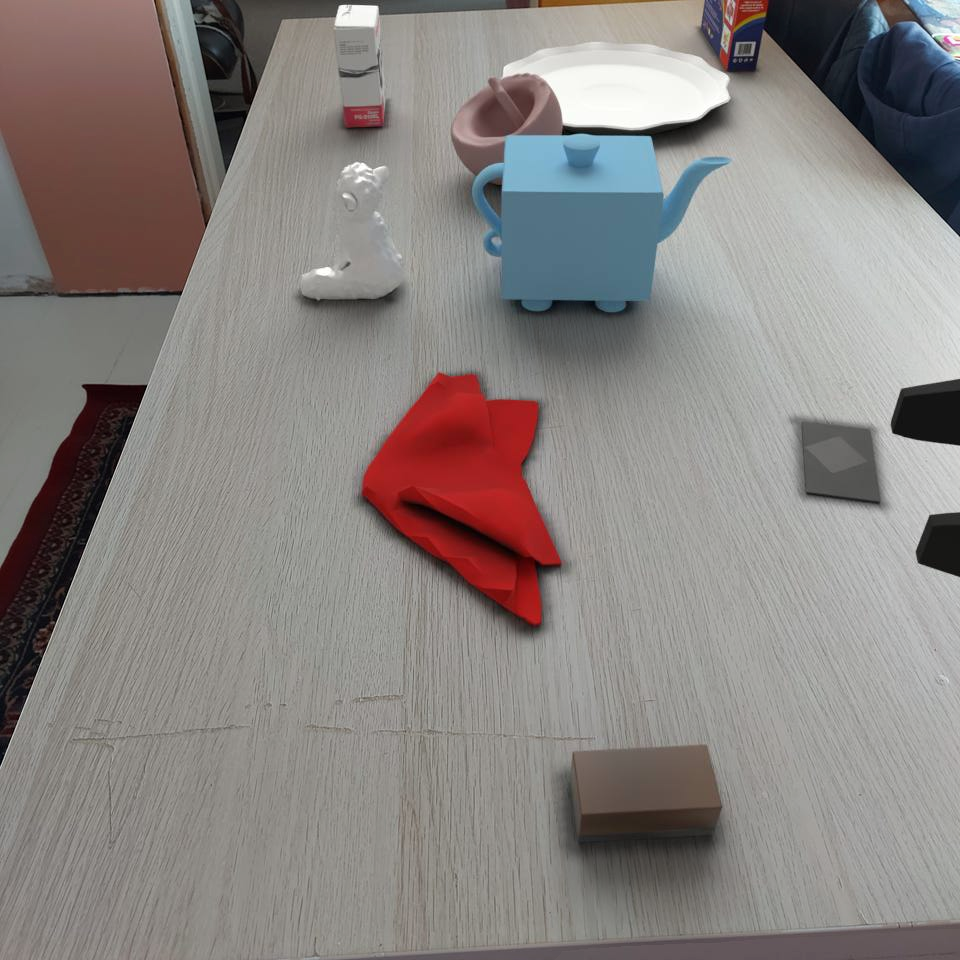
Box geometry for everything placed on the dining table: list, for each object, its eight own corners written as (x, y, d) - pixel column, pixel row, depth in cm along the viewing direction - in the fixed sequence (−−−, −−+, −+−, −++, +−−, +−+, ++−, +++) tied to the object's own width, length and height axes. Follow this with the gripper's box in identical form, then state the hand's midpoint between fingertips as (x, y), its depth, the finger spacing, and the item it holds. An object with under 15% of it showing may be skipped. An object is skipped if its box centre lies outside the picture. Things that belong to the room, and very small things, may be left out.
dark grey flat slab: (869, 430, 70) (869, 429, 69) (879, 503, 64) (880, 501, 64) (801, 422, 70) (802, 420, 70) (806, 493, 65) (806, 491, 65)
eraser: (698, 772, 49) (706, 743, 47) (713, 835, 47) (723, 807, 45) (569, 779, 49) (572, 750, 47) (577, 842, 47) (581, 815, 45)
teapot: (470, 315, 82) (466, 167, 72) (476, 252, 90) (474, 112, 80) (717, 318, 81) (746, 169, 71) (701, 254, 89) (725, 113, 80)
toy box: (755, 70, 125) (773, -24, 117) (726, 71, 125) (742, -23, 117) (726, 27, 138) (741, -60, 130) (700, 28, 138) (713, -59, 130)
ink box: (384, 127, 113) (375, 25, 104) (344, 128, 113) (332, 26, 104) (387, 100, 119) (378, 2, 111) (349, 101, 119) (337, 3, 111)
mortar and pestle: (434, 170, 104) (429, 66, 96) (526, 148, 107) (528, 46, 100) (483, 214, 96) (481, 104, 88) (580, 189, 100) (587, 81, 92)
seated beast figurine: (353, 251, 91) (339, 132, 82) (428, 271, 88) (421, 149, 79) (297, 297, 85) (275, 173, 76) (375, 320, 82) (361, 194, 73)
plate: (451, 107, 117) (450, 88, 115) (585, 45, 133) (586, 28, 131) (644, 170, 103) (646, 149, 101) (769, 92, 119) (772, 73, 117)
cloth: (374, 378, 75) (372, 355, 74) (540, 374, 75) (541, 351, 74) (347, 632, 56) (343, 609, 55) (568, 627, 57) (570, 604, 55)
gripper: (1272, 302, 36) (909, 287, 39) (1485, 577, 26) (973, 532, 29) (1190, 436, 41) (872, 415, 44) (1343, 713, 31) (915, 664, 33)
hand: (908, 470), depth 36 cm, fingers open, 7 cm apart
